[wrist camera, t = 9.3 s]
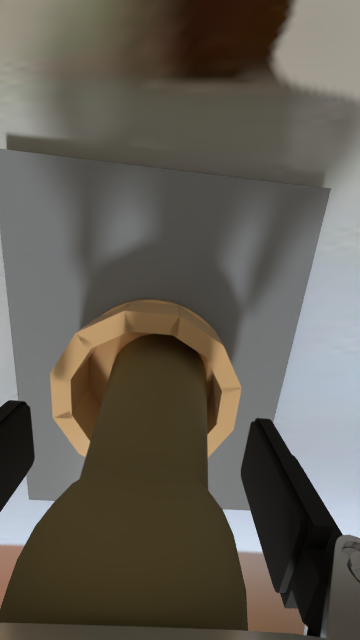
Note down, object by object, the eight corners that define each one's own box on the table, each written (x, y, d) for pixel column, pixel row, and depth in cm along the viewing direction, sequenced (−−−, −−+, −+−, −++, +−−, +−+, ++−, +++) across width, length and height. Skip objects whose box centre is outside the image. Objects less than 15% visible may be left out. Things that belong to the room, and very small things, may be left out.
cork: (90, 372, 14) (-179, 738, 3) (164, 313, 13) (117, 554, 2) (154, 433, 15) (107, 835, 5) (225, 383, 14) (369, 738, 4)
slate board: (319, 193, 13) (330, 188, 12) (247, 497, 19) (251, 510, 18) (5, 156, 12) (-9, 147, 11) (36, 487, 19) (29, 499, 18)
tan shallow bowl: (237, 306, 14) (256, 320, 11) (215, 438, 16) (225, 481, 13) (74, 291, 13) (43, 301, 10) (78, 429, 16) (54, 471, 13)
